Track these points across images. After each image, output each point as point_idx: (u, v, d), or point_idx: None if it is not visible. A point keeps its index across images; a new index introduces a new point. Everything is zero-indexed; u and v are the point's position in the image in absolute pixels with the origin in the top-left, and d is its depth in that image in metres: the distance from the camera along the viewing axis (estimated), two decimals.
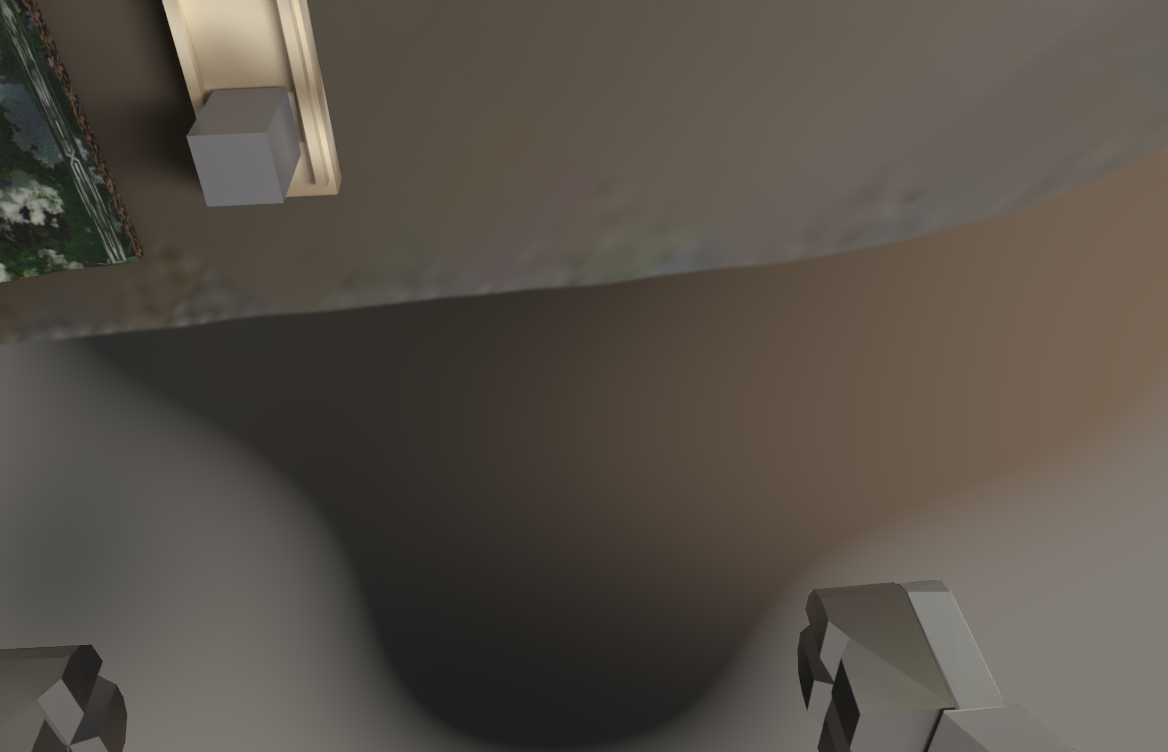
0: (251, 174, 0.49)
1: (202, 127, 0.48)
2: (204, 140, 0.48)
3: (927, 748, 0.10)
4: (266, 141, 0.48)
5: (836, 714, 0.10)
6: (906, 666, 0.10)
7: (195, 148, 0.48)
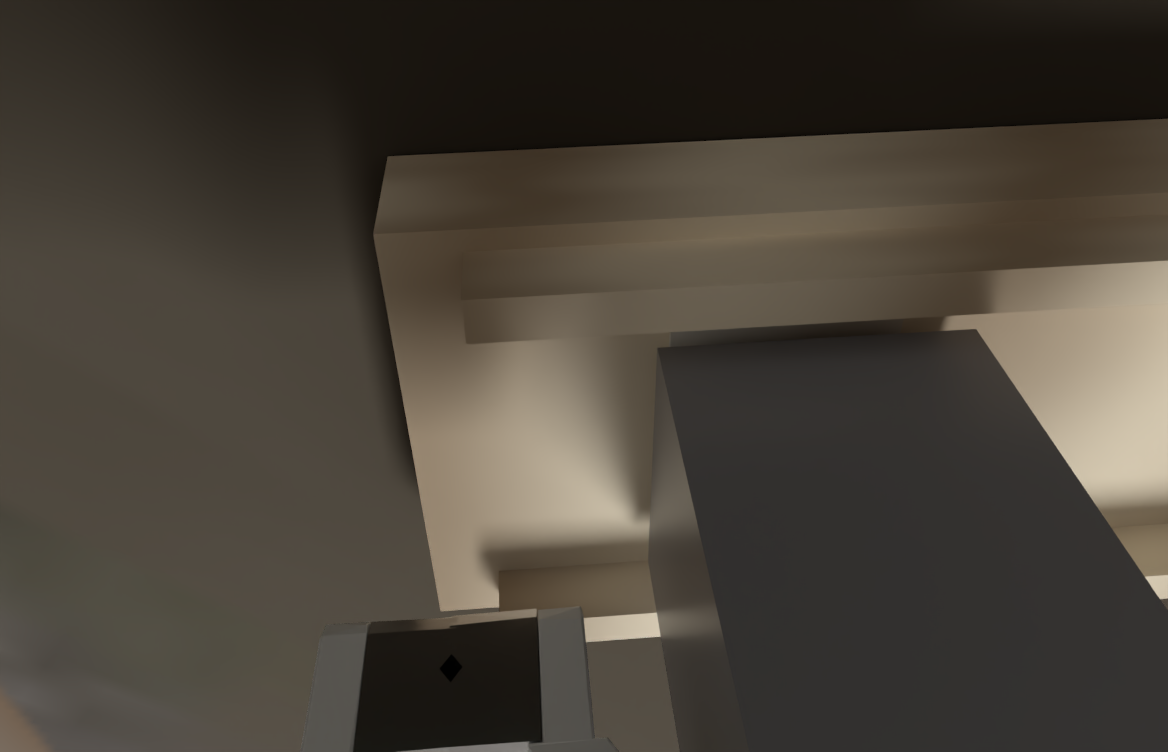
0: None
1: None
2: None
3: None
4: None
5: None
6: (508, 697, 0.09)
7: None
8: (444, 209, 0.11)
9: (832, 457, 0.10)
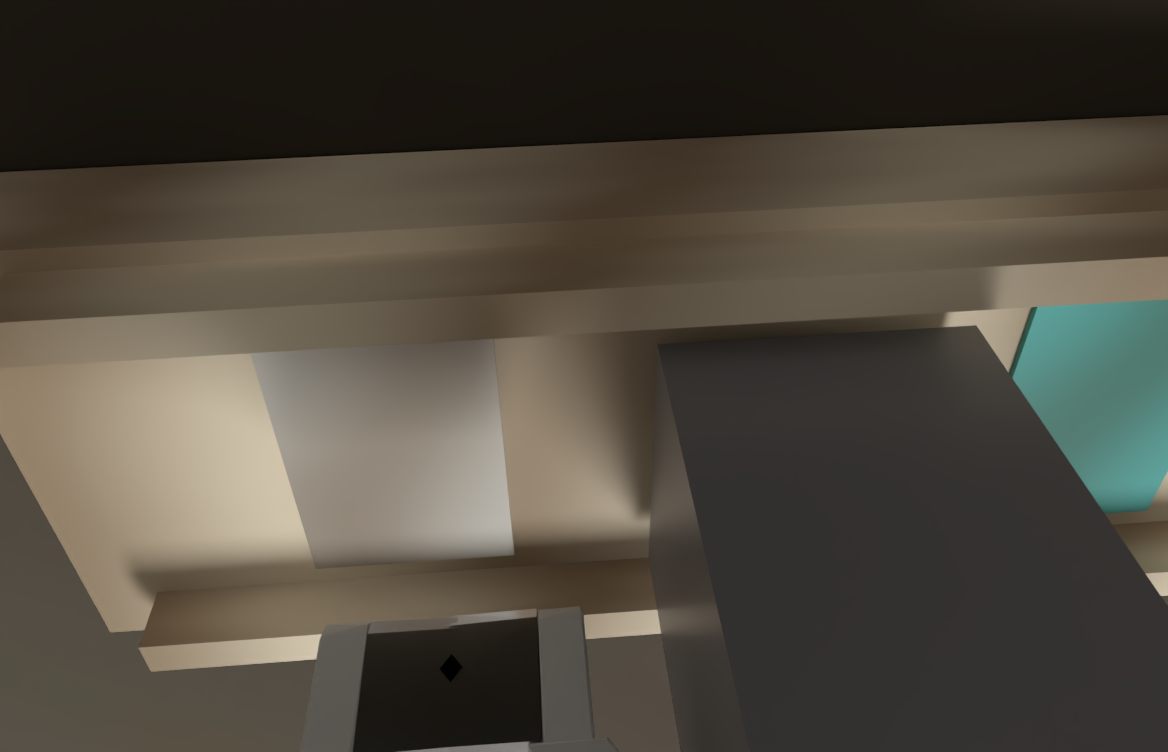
0: None
1: None
2: None
3: None
4: None
5: None
6: (508, 697, 0.09)
7: None
8: None
9: (832, 453, 0.10)
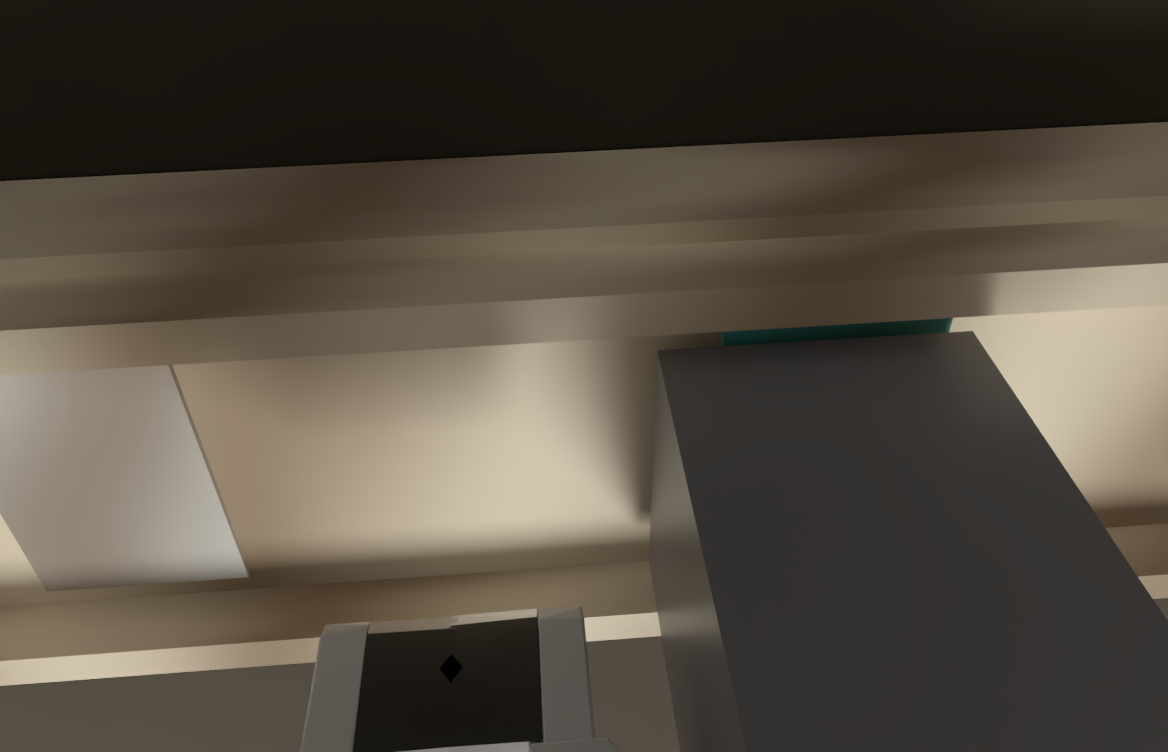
0: None
1: None
2: None
3: None
4: None
5: None
6: (508, 697, 0.09)
7: None
8: None
9: (830, 457, 0.10)
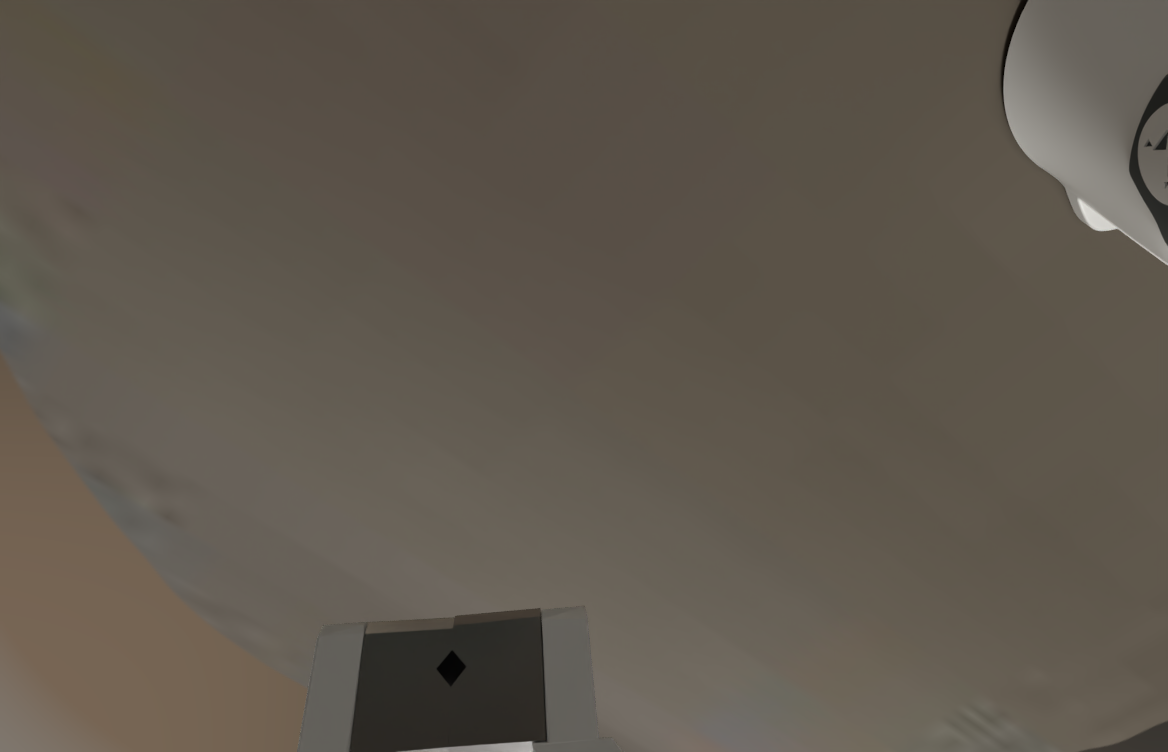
0: None
1: None
2: None
3: None
4: None
5: None
6: (512, 697, 0.09)
7: None
8: None
9: None
